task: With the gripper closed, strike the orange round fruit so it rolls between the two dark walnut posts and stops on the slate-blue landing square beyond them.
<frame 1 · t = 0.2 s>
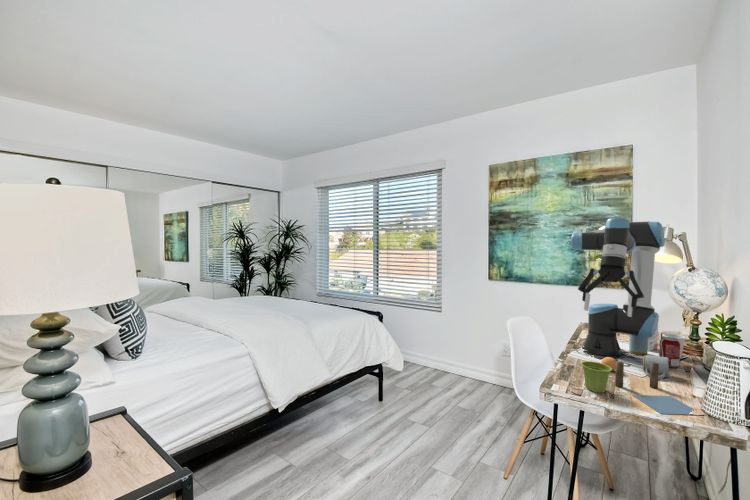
hand: (606, 313, 126), 28 cm above the table, tool tilted 20°, fingers open, 13 cm apart
orange round fruit: (609, 363, 143), on the table
post 2: (653, 387, 127), on the table
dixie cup: (672, 357, 161), on the table
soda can: (668, 365, 150), on the table
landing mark: (666, 404, 114), on the table
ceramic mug: (656, 376, 139), on the table
post 1: (619, 386, 128), on the table
plant pot: (595, 389, 125), on the table
ink cartridge box: (647, 349, 173), on the table
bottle: (638, 353, 166), on the table
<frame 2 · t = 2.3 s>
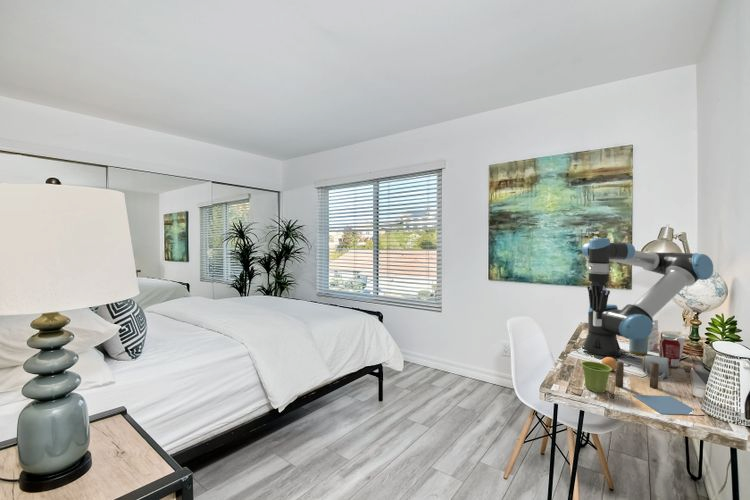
hand: (597, 325, 152), 16 cm above the table, tool pointing down, fingers closed
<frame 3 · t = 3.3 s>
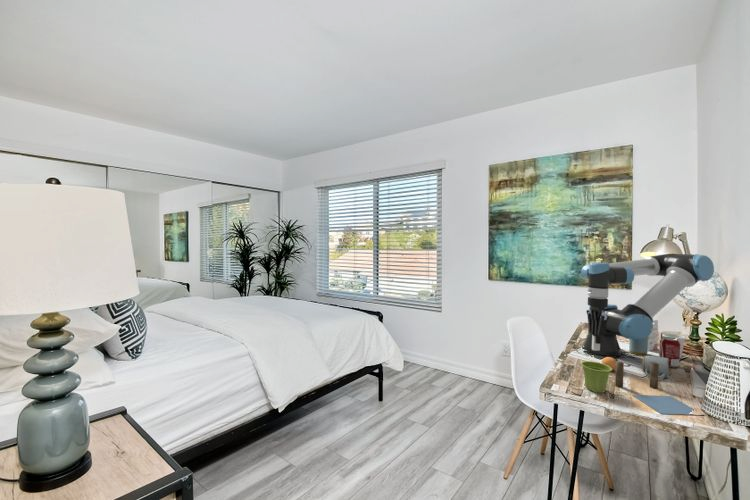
hand: (595, 350, 153), 6 cm above the table, tool pointing down, fingers closed
nothing on the table moved.
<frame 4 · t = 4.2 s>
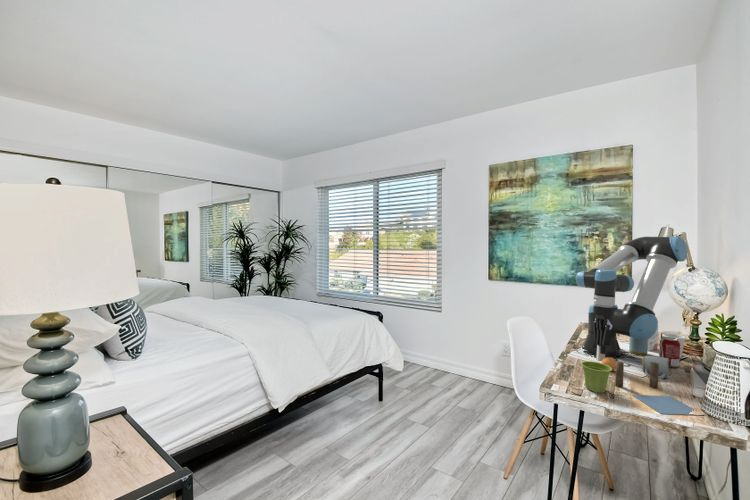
hand: (600, 360, 147), 3 cm above the table, tool pointing down, fingers closed
orange round fruit: (609, 363, 143), on the table, touching gripper
everything else where it was.
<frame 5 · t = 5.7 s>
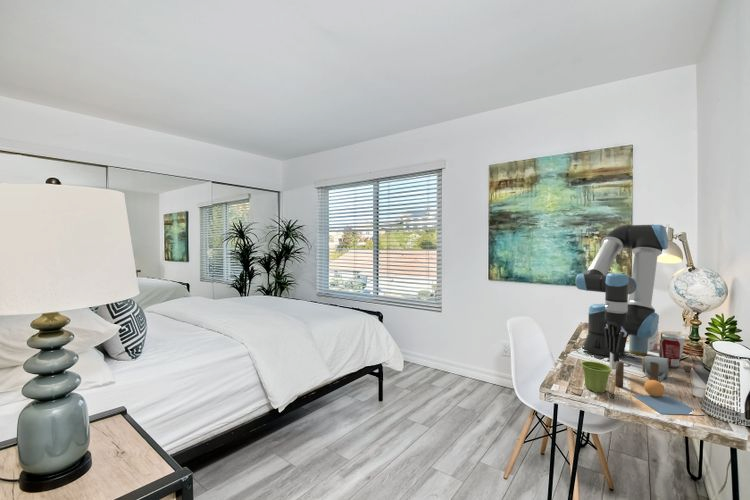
hand: (614, 368, 140), 2 cm above the table, tool pointing down, fingers closed
orange round fruit: (654, 388, 120), on the table
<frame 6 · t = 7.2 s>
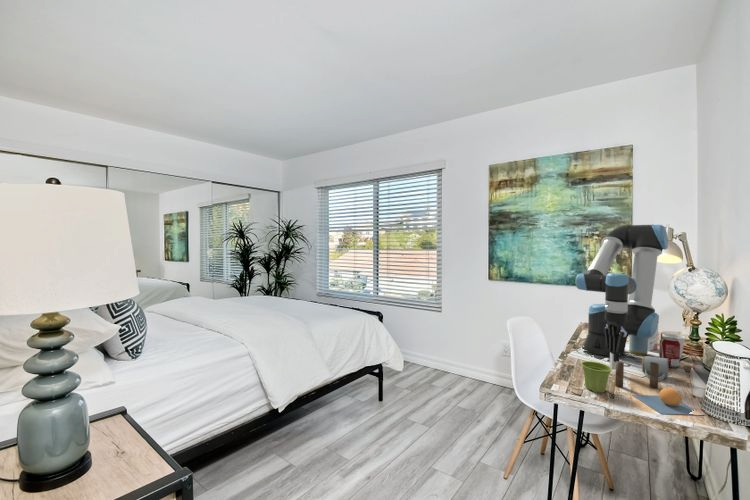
hand: (614, 368, 140), 2 cm above the table, tool pointing down, fingers closed
orange round fruit: (670, 397, 113), on the table
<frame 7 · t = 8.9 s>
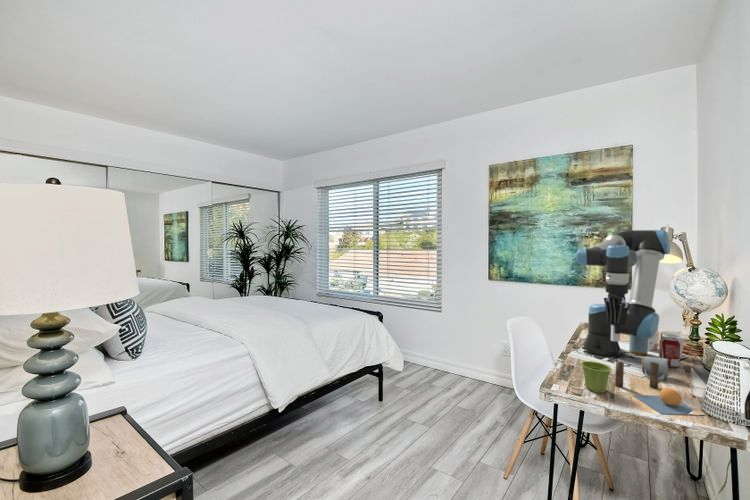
hand: (615, 340, 140), 13 cm above the table, tool pointing down, fingers closed
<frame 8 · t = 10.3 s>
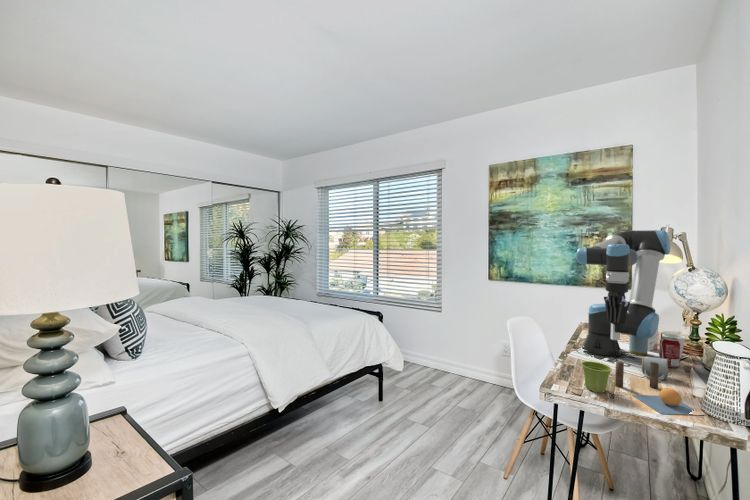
hand: (615, 339, 140), 14 cm above the table, tool pointing down, fingers closed
at the end: orange round fruit 1.1 cm from the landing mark (horizontally); orange round fruit never touched post 2; orange round fruit never touched post 1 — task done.
